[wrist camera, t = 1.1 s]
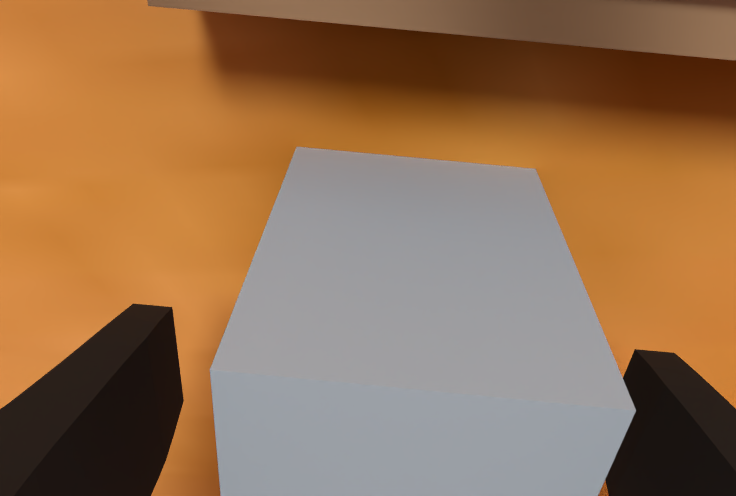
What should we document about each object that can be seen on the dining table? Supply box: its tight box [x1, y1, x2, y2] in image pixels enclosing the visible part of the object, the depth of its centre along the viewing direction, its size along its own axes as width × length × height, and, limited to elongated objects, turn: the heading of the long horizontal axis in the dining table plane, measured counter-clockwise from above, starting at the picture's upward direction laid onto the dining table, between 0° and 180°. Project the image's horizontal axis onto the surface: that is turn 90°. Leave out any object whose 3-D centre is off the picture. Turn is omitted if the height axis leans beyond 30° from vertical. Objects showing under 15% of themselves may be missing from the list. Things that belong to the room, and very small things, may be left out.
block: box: [210, 147, 636, 496], centre depth 10 cm, size 4×4×6 cm
